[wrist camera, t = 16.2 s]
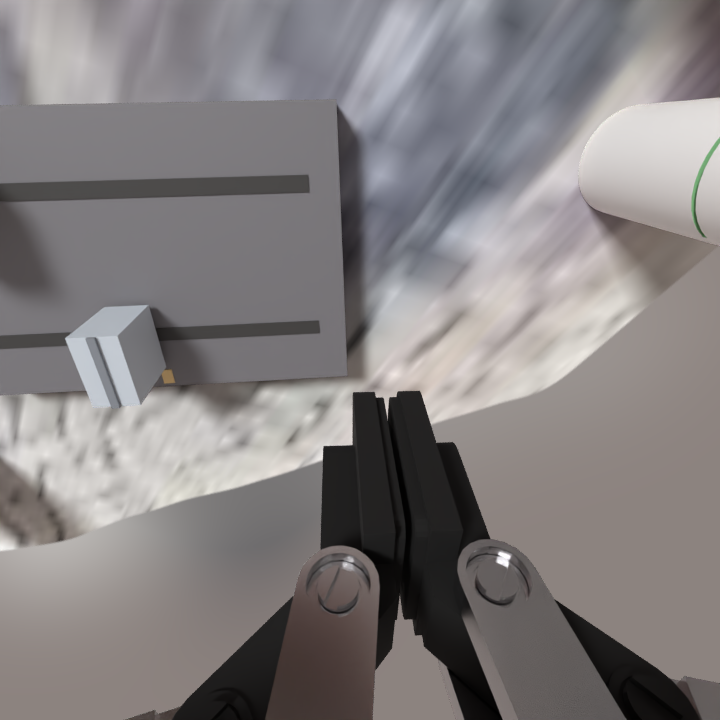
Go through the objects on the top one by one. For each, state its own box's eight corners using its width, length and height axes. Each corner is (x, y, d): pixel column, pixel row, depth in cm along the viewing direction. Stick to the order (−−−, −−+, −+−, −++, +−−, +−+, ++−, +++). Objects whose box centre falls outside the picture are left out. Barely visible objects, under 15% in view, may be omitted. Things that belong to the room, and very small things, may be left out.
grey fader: (104, 306, 29) (62, 340, 24) (148, 304, 29) (115, 337, 24) (125, 369, 31) (91, 409, 27) (166, 366, 31) (139, 406, 27)
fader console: (-122, 110, 25) (-176, 108, 23) (335, 102, 27) (336, 99, 24) (11, 376, 34) (-16, 396, 32) (345, 358, 36) (347, 376, 33)
